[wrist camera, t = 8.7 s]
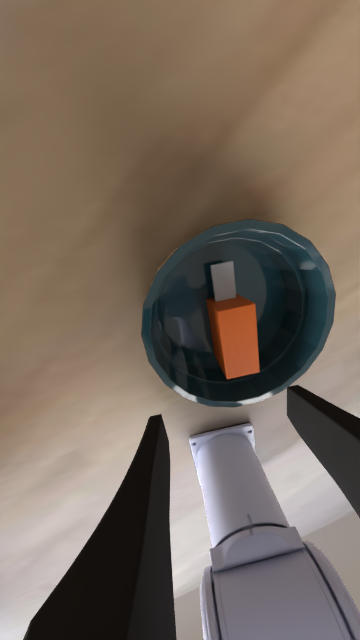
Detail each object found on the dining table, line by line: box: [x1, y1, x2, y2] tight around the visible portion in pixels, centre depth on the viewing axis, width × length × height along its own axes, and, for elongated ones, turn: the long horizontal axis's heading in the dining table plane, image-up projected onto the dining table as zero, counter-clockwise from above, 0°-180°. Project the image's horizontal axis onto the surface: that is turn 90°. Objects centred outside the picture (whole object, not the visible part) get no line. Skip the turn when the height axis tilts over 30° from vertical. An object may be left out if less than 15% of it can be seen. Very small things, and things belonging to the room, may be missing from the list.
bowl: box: [141, 219, 336, 407], centre depth 16 cm, size 14×14×5 cm
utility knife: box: [206, 261, 260, 379], centre depth 16 cm, size 9×3×4 cm, turn 11°
